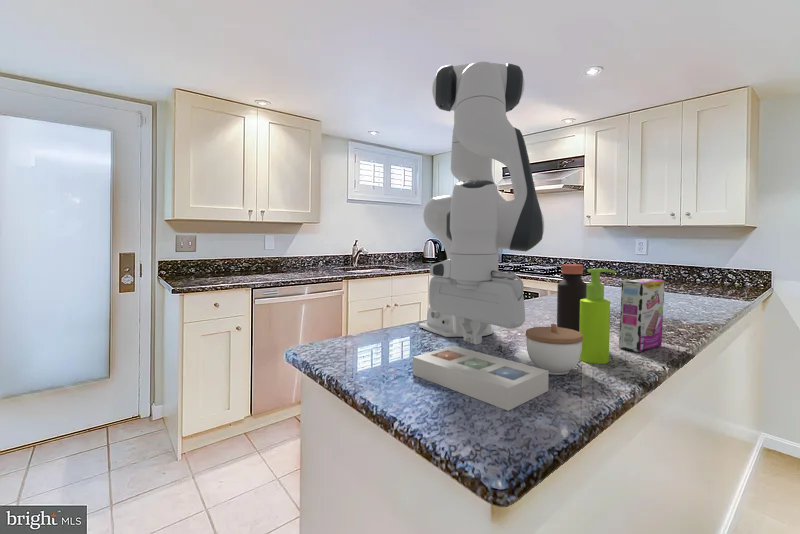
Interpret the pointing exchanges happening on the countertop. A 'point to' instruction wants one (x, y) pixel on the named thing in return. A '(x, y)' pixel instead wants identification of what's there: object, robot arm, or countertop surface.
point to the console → (482, 377)
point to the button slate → (509, 373)
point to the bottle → (570, 296)
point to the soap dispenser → (595, 321)
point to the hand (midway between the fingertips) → (472, 342)
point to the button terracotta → (448, 355)
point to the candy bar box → (641, 314)
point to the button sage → (476, 364)
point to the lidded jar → (554, 348)
